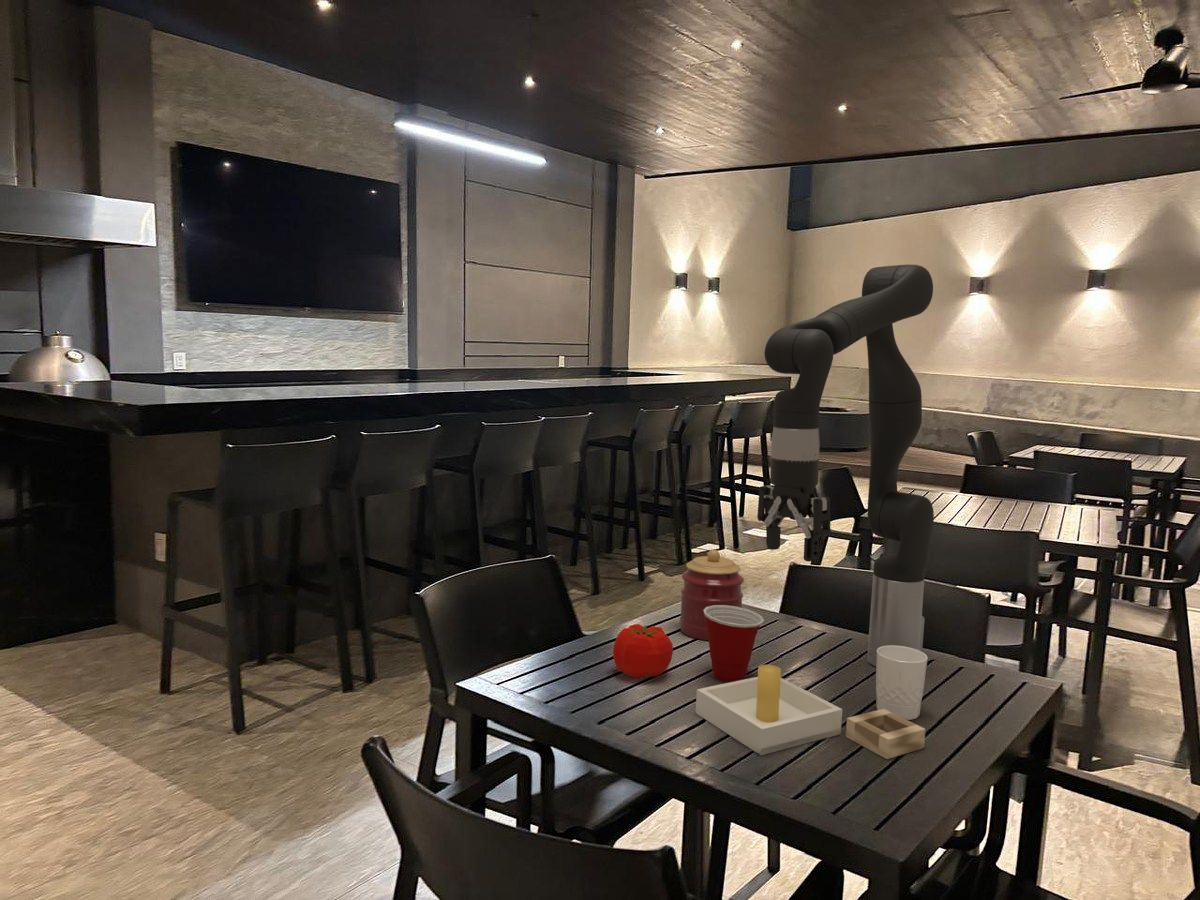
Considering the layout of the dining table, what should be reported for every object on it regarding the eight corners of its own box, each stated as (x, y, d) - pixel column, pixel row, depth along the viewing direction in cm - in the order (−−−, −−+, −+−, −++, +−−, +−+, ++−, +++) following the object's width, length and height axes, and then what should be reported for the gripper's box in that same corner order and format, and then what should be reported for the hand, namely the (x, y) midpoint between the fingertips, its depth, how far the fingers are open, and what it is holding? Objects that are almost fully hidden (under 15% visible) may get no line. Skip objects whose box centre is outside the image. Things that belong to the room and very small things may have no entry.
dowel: (768, 711, 133) (770, 663, 132) (783, 719, 130) (785, 670, 129) (751, 715, 132) (753, 666, 131) (765, 724, 129) (768, 674, 128)
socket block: (882, 726, 131) (883, 708, 131) (924, 748, 124) (925, 728, 124) (845, 736, 127) (846, 718, 127) (886, 759, 120) (888, 739, 120)
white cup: (899, 725, 132) (903, 665, 131) (862, 706, 139) (866, 649, 138) (933, 717, 136) (938, 658, 134) (896, 699, 143) (900, 642, 141)
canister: (725, 646, 166) (729, 560, 164) (668, 633, 173) (671, 550, 171) (750, 630, 177) (755, 549, 175) (696, 618, 184) (699, 540, 182)
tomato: (681, 682, 147) (683, 634, 146) (623, 688, 143) (625, 639, 142) (657, 661, 157) (659, 616, 156) (603, 666, 153) (604, 621, 152)
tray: (771, 696, 142) (772, 673, 142) (840, 734, 128) (842, 709, 128) (695, 713, 134) (696, 689, 134) (760, 755, 120) (762, 729, 120)
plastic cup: (760, 691, 144) (764, 624, 142) (698, 684, 146) (701, 618, 145) (761, 669, 154) (764, 606, 153) (702, 663, 156) (705, 601, 155)
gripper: (845, 459, 128) (840, 562, 130) (781, 449, 140) (778, 542, 142) (809, 462, 124) (805, 568, 126) (747, 451, 136) (744, 548, 138)
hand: (791, 554), depth 134 cm, fingers open, 8 cm apart
